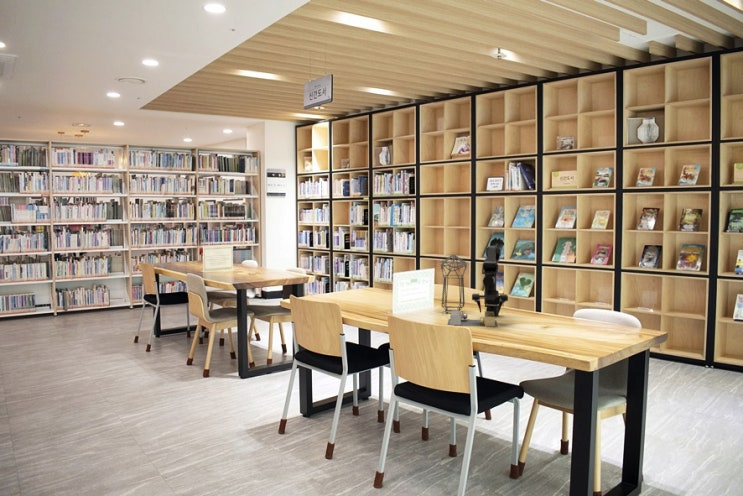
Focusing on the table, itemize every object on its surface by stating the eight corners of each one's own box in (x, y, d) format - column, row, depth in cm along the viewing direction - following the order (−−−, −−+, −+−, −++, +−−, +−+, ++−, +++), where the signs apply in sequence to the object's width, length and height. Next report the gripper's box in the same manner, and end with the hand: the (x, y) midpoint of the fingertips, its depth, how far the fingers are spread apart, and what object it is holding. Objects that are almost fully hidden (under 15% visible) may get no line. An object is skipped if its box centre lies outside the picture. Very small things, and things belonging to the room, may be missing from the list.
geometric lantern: (466, 310, 356) (467, 253, 352) (465, 315, 340) (466, 256, 337) (440, 309, 358) (441, 252, 355) (438, 314, 343) (439, 255, 340)
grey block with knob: (451, 319, 323) (451, 310, 323) (467, 319, 322) (467, 310, 321) (450, 325, 307) (450, 315, 307) (466, 325, 306) (467, 316, 306)
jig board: (448, 320, 324) (448, 318, 324) (496, 322, 320) (496, 320, 320) (447, 327, 307) (447, 325, 307) (497, 328, 302) (497, 327, 302)
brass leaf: (479, 320, 321) (479, 311, 320) (493, 320, 319) (493, 311, 319) (479, 326, 305) (479, 316, 304) (494, 326, 303) (494, 317, 303)
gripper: (472, 286, 304) (471, 315, 305) (508, 286, 301) (508, 316, 302) (472, 283, 315) (471, 311, 316) (507, 283, 312) (507, 312, 313)
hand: (489, 313), depth 311 cm, fingers open, 9 cm apart
